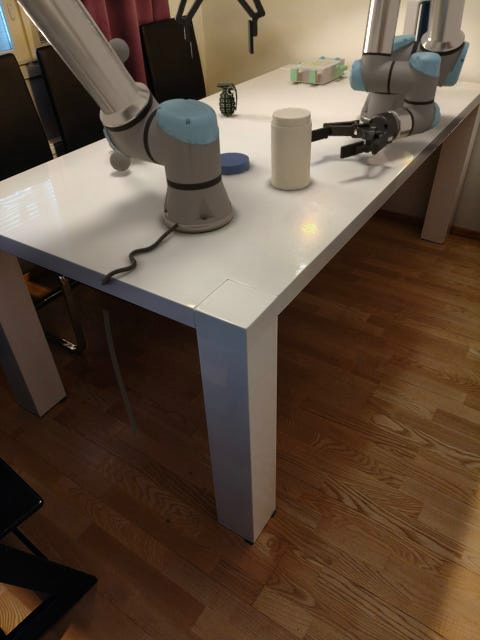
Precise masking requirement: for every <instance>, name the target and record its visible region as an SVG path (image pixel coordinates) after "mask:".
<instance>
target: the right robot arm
mask: <svg viewBox="0 0 480 640" xmlns="http://www.w3.org/2000/svg"><path fill="white" fill-rule="evenodd" d="M401 3H402V0H369V5H368V12H367V18H366V25H365V32H364V38H363V46H362V52H361V53H362V55H361V58H359V59H355V60H354V61H353V62H352V65H351V69H350V72H349V85H350V88H351V89H352V90H353V91H358V92H364V93H365V92H366V93H367V97H366V99H365V101H364V103H363V106H362V109H361V112H360V119H354V120H347V121H334V122H323V123H322V127H320V128H316V129H312V135H311V143H314V142H318V141H322V140H328V138H329V137H351V138H352V139H362V140H360V141H356V142H352V143H349V144H345V145H341V146H340V149H339V158H340V159H341V160H343V159H347V158H350V157H353V156H356V155H360V154H363V153H364V154H369V153H371V155H373V156H375V155H377V154H379V152H381V151H382V150H383V149H384V148H385V147H386V146H388V145H390V144H392V143H393V142H397V141H398V140H400V139H404V138H408V137H411V136H415V135H420V134H424V133H425V132H428V131H431V130H432V129H434V128H436V127H437V126H438V124H439V122H440V120H441V117H442V113H441V108H440V106H439V104H438V103H437V102H436V101H435V99H436V93H437V88H443V87H453V86H455V85H456V84H457V83H458V81H459V78H460V75H461V72H462V69H463V65H464V63H465V60H466V57H467V53H468V51H469V49H470V42H469V41H466V35H465V32H464V31H463V30H462V29H461V28H462V23H463V16H464V10H465V5H466V4H465V3H466V0H431V3H430V12H429V21H428V31H427V32H426V33H425V34H424V35H423V36H422V38H421V41H416V40H417V37H416V36H415V35H403V34H399V35H396V34H397V33H396V32H397V26H398V20H399V14H400V8H401ZM360 120H361V121H363V122H361V123H360ZM355 133H356V134H355Z"/></svg>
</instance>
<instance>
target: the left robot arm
mask: <svg viewBox="0 0 480 640" xmlns="http://www.w3.org/2000/svg"><path fill="white" fill-rule="evenodd" d="M236 1H237V2H238V3H239V5H240V7H242V9H243V10H244V11H245V12H246V14H247V15H248V17H250V19H247V38H248V39H247V41H248V42H247V43H248V53H249V54H250V55H254V54H255V52H254V51H255V50H254V49H255V48H254V45H255V44H254V38H255V37H258V35H259V31H258V29H259V28H258V27H259V26H258V21H259V19H261V18H263V17H265V16H266V10H265V8H264V6H263V3H262V1H261V0H251V1H252V3H253V5H254V7H255V9H256V11H254V10H253V8H252V7H251V6H250V4H249V3H248V2H247V0H236ZM16 2H17V3H18V4H19V5H20V7H21V8H22V9H23V11H24V12H25V14H26V15H27V16H28V17H29V18H30V21H32V22H33V24H34V25H35V26H36V28H37V29H38V30H39V31H40V32H41V34H42V35H43V36H44V38H45V39H46V41H47V42H48V43H49V44H50V46H51V47H52V48H53V49H54V50H55V52H56V53H57V54H58V55H59V58H61V60H62V61H63V62H64V63H65V65H66V66H67V67H68V68H69V70H70V71H71V73H72V74H73V75H74V76H75V78H76V79H77V80H78V81H79V82H80V84H81V85H82V87H83V88H84V89H85V91H86V92H87V93H88V94H89V95H90V97H91V98H92V99H93V100H94V102H95V103H96V105H97V106H98V107H99V108H100V111H99V119H100V121H101V123H102V126H103V135H104V137H105V138H106V141H107V143H108V145H109V144H110V145H111V146H112V147H113V148H114V149H115V150H116V151H118V152H119V153H121V154H123V155H125V156H127V157H130V158H131V159H135V160H140V161H143V162H146V163H147V162H148V163H151V164H155V165H159V166H162V167H163V168H164V174H165V180H166V190H165V191H166V192H165V196H164V203H163V207H162V218H163V222H164V224H165V226H167V227H168V228H169V229H168V230H166V231H165V232H164V233H163V234H161V236H160V237H159V238H158V239H157V240H156V241H155V242H154V243H152V244H151V245H148V246H145V247H140V248H136V249H134V250H131V251H130V252H129V254H128V259H129V260H130V262H131V264H130V265H128V266H124V267H120V268H116V269H114V270H111V271H110V272H108V273H107V274H106V275H105V277H104V278H103V280H102V282H101V285H100V286H106V285H107V284H108V282H109V280H110V279H111V278H113V277H114V276H117V275H119V274H122V273H126V272H130V271H132V270H133V269H135V268H136V267H137V264H138V263H137V260H136V258H135V257H134V256H135V255H137V254H142V253H147V252H151V251H152V250H154V249H156V248H157V247H158V246H159V245H161V243H163V241H164V240H165V239H166V238H167V237H168V236H169V235H171V233H173V232H174V231H177V232H180V233H190V234H191V233H192V234H193V233H194V234H195V233H196V234H197V233H205V232H206V233H207V232H210V231H215V230H216V229H220V228H222V227H224V226H226V225H227V224H228V223H230V221H231V220H232V218H233V216H234V212H233V211H234V210H233V205H232V201H231V200H230V197H229V195H228V192H227V190H226V187H225V184H224V182H223V174H221V156H220V154H221V140H220V127H219V123H218V116H217V113H216V110H215V109H214V108H213V107H212V106H211V105H210V104H208V103H206V102H203V101H200V100H198V99H197V100H196V99H191V98H188V99H184V98H174V99H168V100H165V101H163V102H161V103H159V102H158V101H157V100H156V98H155V97H154V95H153V94H152V92H151V91H150V89H149V87H148V86H147V85H146V84H145V83H143V82H140V81H135V80H134V79H133V77H132V76H131V74H130V73H129V71H128V70H127V68H126V67H125V64H124V65H123V64H122V62H121V61H120V59H119V58H118V56H117V55H116V53H115V52H114V50H113V49H112V47H111V46H110V44H109V41H108V39H107V38H106V37H105V35H104V33H103V32H102V31H101V29H100V27H99V26H98V24H97V23H96V22H95V20H94V18H93V17H92V15H91V14H90V12H89V11H88V10H87V7H86V6H85V5H84V3H83V2H82V1H81V0H16ZM187 2H188V0H179V3H178V5H177V6H178V7H177V9H176V13H175V16H174V20H175V22H176V24H180V25H182V26H183V32H184V39H185V42H186V43H190V52H191V54H190V55H191V58H192V60H193V59H196V58H197V56H196V47H195V34H194V26H193V24H190V23H191V22H192V21H193V19H194V17H195V15H196V13H197V12H198V10H199V8H200V7H201V6H202V3H203V2H204V0H194V1H193V3H192V5H191V6H190V8H189V10H188V11H187V13H186V14H185V17H184V16H183V15H184V12H185V9H186V5H187ZM110 145H109V146H110ZM115 150H114V151H115ZM102 312H103V313H102V314H103V321H104V322H103V323H104V328H105V335H106V339H107V345H108V349H109V353H110V358H111V361H112V366H113V369H114V372H115V375H116V379H117V383H118V386H119V388H120V389H119V390H120V393H121V395H122V397H123V402H124V405H125V408H126V411H127V415H128V419H129V422H130V426H131V430H132V432H133V435H134V436H136V435H138V430H137V425H136V423H135V419H134V415H133V411H132V407H131V404H130V401H129V397H128V395H127V392H126V388H125V385H124V381H123V378H122V374H121V371H120V367H119V363H118V360H117V356H116V351H115V347H114V342H113V337H112V331H111V325H110V316H109V310H106V309H102Z"/></svg>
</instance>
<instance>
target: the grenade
mask: <svg viewBox="0 0 480 640" xmlns="http://www.w3.org/2000/svg"><path fill="white" fill-rule="evenodd" d="M215 87H217V88H219V89H221V93H219V97H218V101H219V102H218V106H219V108H218V109H219V112H220V114H221V115H222V116H224V117H231V116H233V115H234V113H235V112H236V111H237V108H238V89H237V87H236V85H235V84H234V83H233V82H218V83H217V84H216V86H215ZM232 91H233V92H232ZM234 94H235V96H234Z"/></svg>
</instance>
